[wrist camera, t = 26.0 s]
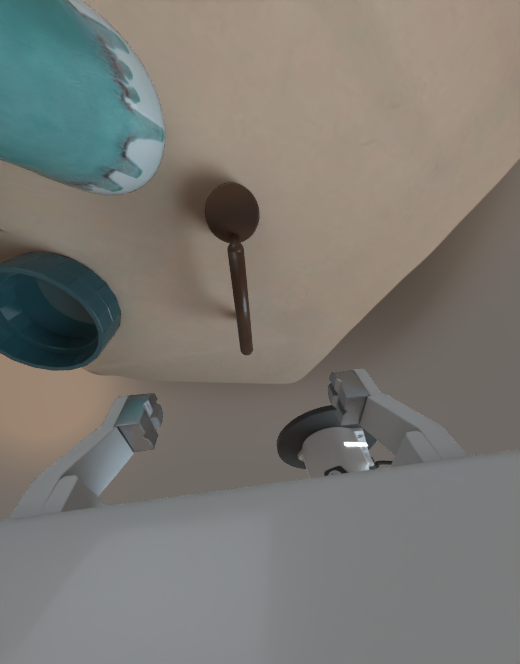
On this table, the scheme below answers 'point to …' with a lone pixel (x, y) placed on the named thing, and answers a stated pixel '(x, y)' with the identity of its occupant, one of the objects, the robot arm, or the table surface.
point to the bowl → (54, 312)
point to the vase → (76, 99)
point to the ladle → (235, 244)
